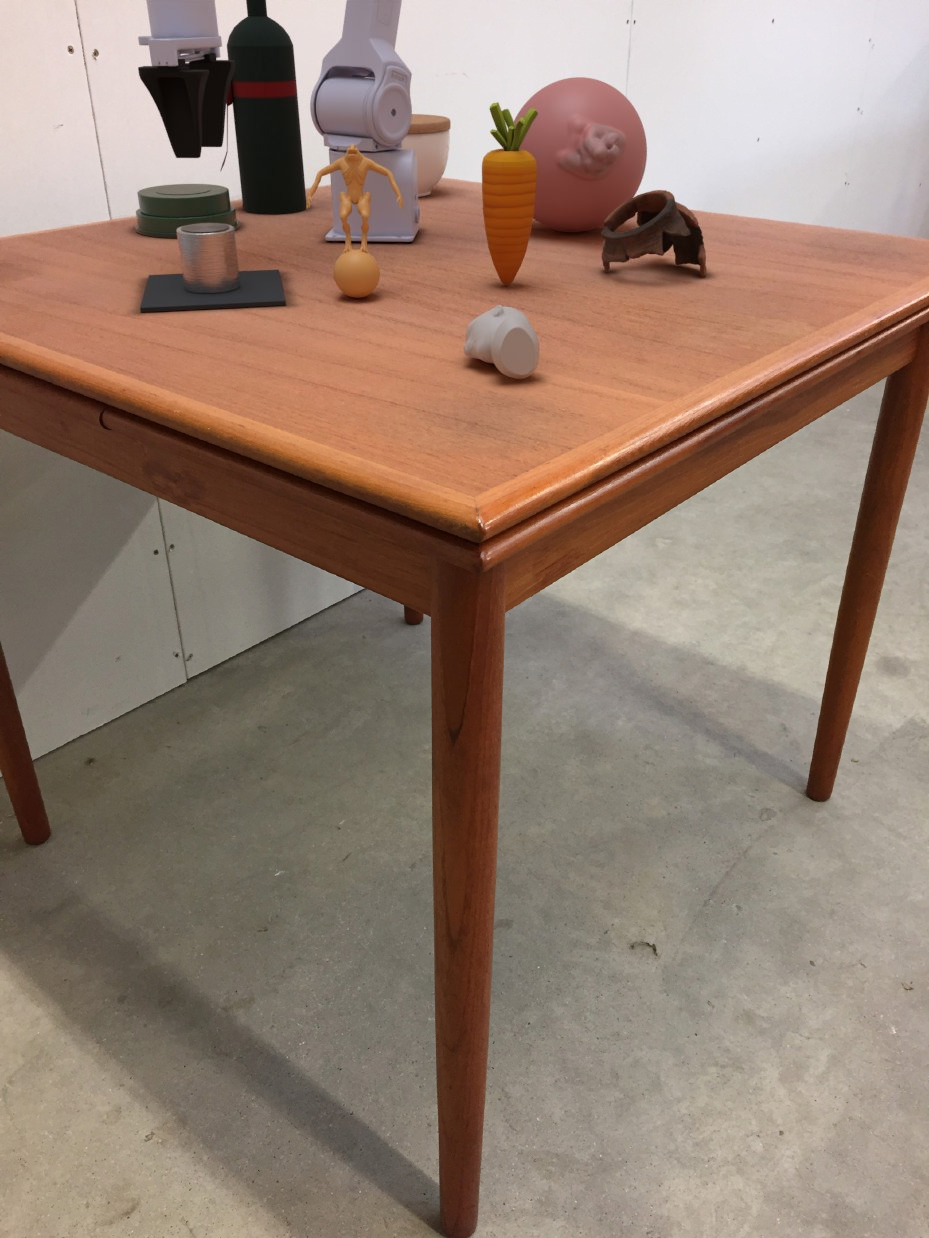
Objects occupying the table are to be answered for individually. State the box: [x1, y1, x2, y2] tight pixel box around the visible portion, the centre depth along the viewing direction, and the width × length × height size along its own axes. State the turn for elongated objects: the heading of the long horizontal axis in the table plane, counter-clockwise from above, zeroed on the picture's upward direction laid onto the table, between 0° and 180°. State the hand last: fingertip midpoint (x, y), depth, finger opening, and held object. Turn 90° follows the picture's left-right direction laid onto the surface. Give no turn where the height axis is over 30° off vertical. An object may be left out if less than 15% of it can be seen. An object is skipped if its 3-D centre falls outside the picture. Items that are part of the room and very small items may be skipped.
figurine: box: [306, 145, 404, 299], centre depth 86 cm, size 8×6×12 cm
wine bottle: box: [219, 0, 307, 215], centre depth 118 cm, size 8×10×30 cm
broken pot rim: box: [600, 189, 708, 278], centre depth 96 cm, size 12×10×8 cm
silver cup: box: [176, 223, 241, 294], centre depth 88 cm, size 5×5×5 cm
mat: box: [139, 269, 287, 313], centre depth 90 cm, size 12×12×1 cm
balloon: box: [513, 76, 648, 233], centre depth 108 cm, size 15×20×15 cm
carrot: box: [481, 101, 538, 287], centre depth 88 cm, size 5×5×15 cm
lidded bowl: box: [399, 113, 451, 198], centre depth 133 cm, size 13×13×11 cm
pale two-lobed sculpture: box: [463, 304, 541, 380], centre depth 71 cm, size 4×8×5 cm
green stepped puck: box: [134, 183, 241, 239], centre depth 114 cm, size 12×12×4 cm
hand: (200, 152), depth 92 cm, fingers open, 7 cm apart
